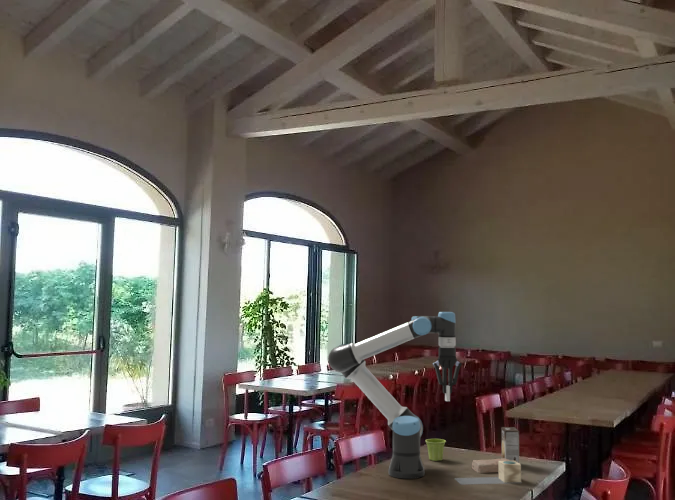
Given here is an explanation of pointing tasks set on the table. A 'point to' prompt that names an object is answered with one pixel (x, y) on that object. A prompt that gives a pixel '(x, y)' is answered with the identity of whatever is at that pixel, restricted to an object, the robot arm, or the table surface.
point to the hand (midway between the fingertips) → (447, 400)
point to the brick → (487, 465)
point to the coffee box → (510, 443)
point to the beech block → (509, 471)
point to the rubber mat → (481, 480)
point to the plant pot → (435, 449)
